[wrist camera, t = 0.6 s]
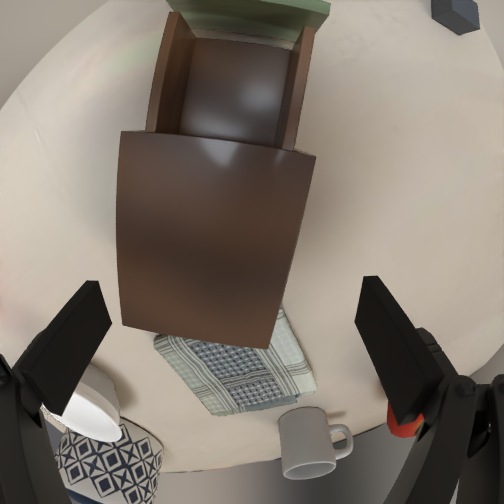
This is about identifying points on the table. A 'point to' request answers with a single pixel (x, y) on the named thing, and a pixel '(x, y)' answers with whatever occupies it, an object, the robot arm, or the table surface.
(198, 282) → the cabinet
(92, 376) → the bowl
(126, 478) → the planter
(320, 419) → the mug
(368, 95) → the table surface
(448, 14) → the block
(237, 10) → the drawer
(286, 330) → the dish towel
